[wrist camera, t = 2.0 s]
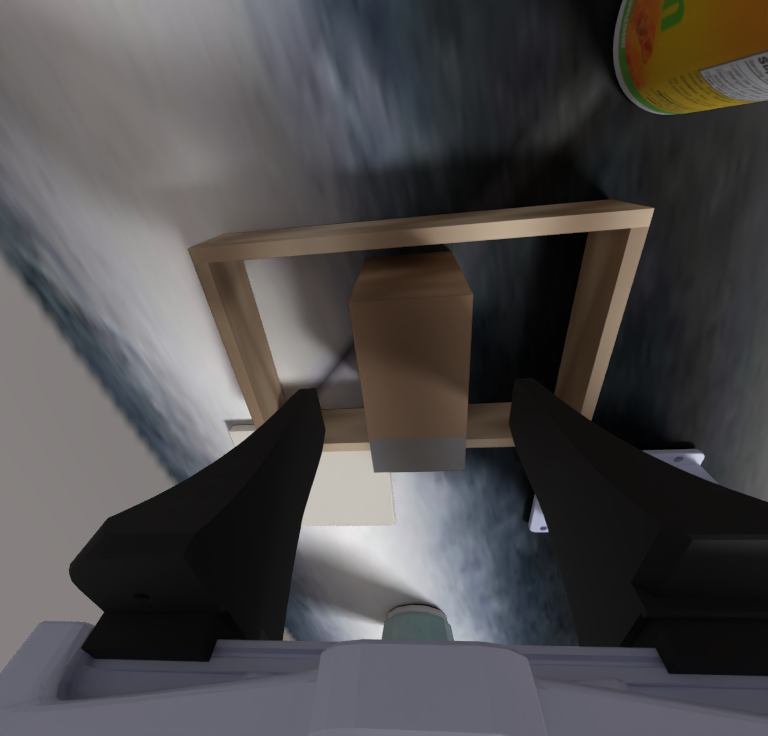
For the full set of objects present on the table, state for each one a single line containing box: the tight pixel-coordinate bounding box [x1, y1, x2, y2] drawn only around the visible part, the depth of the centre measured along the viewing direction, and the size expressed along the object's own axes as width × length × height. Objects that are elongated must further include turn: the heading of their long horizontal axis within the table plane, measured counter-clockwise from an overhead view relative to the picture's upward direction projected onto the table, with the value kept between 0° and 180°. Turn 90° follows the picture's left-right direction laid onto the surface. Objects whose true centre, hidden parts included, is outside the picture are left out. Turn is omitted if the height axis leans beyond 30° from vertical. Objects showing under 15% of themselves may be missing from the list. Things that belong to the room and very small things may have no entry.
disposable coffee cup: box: [382, 605, 454, 641], centre depth 29 cm, size 11×11×15 cm
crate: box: [188, 199, 655, 452], centre depth 17 cm, size 17×11×3 cm, turn 95°
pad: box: [229, 425, 396, 526], centre depth 24 cm, size 10×10×1 cm
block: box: [348, 251, 473, 473], centre depth 15 cm, size 4×8×6 cm, turn 5°
